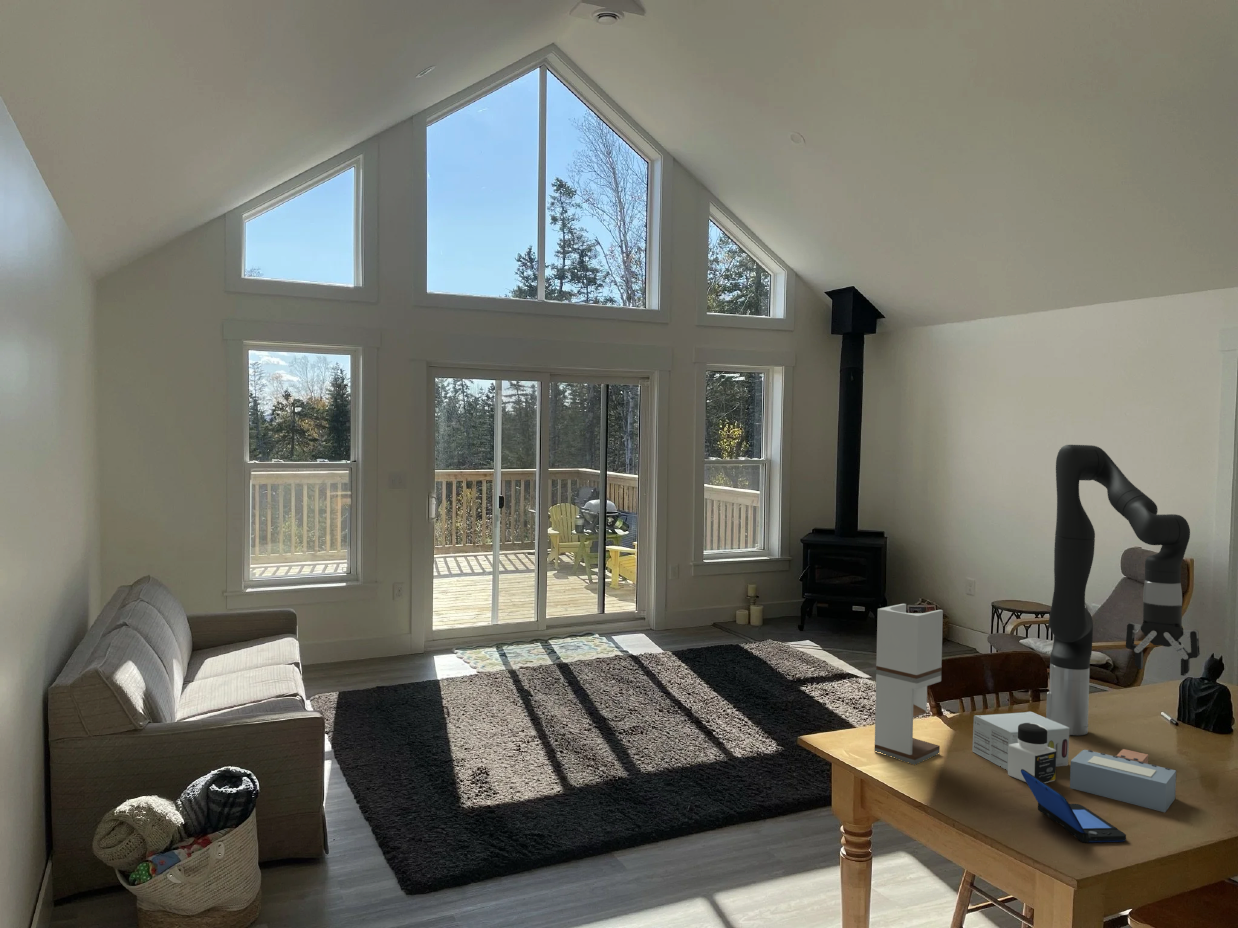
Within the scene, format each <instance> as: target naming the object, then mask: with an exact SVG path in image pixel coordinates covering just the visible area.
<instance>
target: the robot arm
mask: <svg viewBox="0 0 1238 928" xmlns="http://www.w3.org/2000/svg"><path fill="white" fill-rule="evenodd" d="M1055 459H1056V460H1055V481H1056V483H1055V484H1056V521H1055V522H1056V525H1055V533H1054V536H1055V537H1054V547H1053V548H1054V550H1053V551H1054V552H1053V553H1054V560H1053V567H1054V568H1053V572H1054V573H1053V577H1054V581H1053V582H1054V585H1053V593H1052V594H1053V595H1052V602H1051V607H1050V613H1049V618H1048V625H1049V629H1050V632H1051V633H1052V635H1053V643H1052V649H1051V651H1050V657H1049V659H1050V660H1049V664H1050V665H1049V690H1048V692H1047V693H1046V708H1045V709H1046V711H1045V713H1046V714H1045V715H1046V717H1045V718H1047V719H1050V720H1052V721H1055V722H1057V723H1060V724H1062V725H1064V726H1066V727H1069V728H1070V729H1069V736H1084V735H1087V734H1088V731H1089V700H1090V697H1089V695H1090V666H1091V665H1090V664H1091V658H1092V652H1093V649H1092V648H1093V635H1094V622H1093V621H1094V620H1093V617H1092V614H1091V612H1090V610H1088V609H1087V608H1086V589H1087V584H1088V580H1089V577H1090V574H1091V570H1092V565H1093V561H1094V555H1095V546H1096V545H1095V543H1096V539H1095V538H1096V532H1095V529H1094V528H1095V527H1094V525H1093V523H1092V521H1091V519H1090V518H1089V516H1088V514H1087V512H1086V510H1085V508H1084V506H1083V504H1082V502H1081V497H1080V481H1094V482H1096V483H1099V484H1100V485H1102V486H1103V487H1105V488H1106V490H1107V491H1106V492H1107V493H1106V494H1107V499H1108V501H1109V504H1110V505H1111V507H1112V508H1113V509H1115V511H1116V512H1118V513H1119V514H1120V515H1121V516H1122V517H1123V518H1124V519H1125V520H1127V522H1129V525H1130V527H1131V528H1132V530H1133V533H1134V534H1135V536H1136V538H1138V539H1139V540H1140V541H1141V542H1143V543H1145V544H1146V545H1149V546H1161V547H1160V550H1159V551H1158V552H1157V553H1155V554H1153V555H1149V556H1147V557H1146V559H1145V562H1144V585H1143V591H1142V592H1143V593H1142V594H1143V595H1142V598H1143V600H1142V601H1143V603H1142V606H1143V607H1142V608H1143V609H1142V610H1143V611H1142V618H1143V619H1142V623H1141V624H1137V623H1135V622H1133V621H1131V622H1129V623H1128V624H1127V625H1126V638H1125V648H1127V649H1128V650H1131V651H1132V652H1133V653H1134V665H1135V666H1136V667H1137V669H1138V670H1142V669H1144V652H1143V650H1144V649H1145V648H1146V647H1147V646H1148V645H1149V644H1152V645H1153V646H1163V647H1166V648H1167V647H1168V648H1170V647H1173V649H1174V650H1175V651H1176V652H1177V653H1178V654H1179V655H1180V657H1181V659H1180V676H1183V677H1184V676H1186V675H1188V674H1189V672H1190V664H1191V663H1190V661H1191V659H1197V658H1198V657H1199V656H1200V654H1201V653H1200V650H1201V649H1200V637H1199V631H1198V629H1193V630H1191V629H1189V630H1188V629H1184V628H1183V625H1182V624H1183V622H1182V621H1183V620H1182V619H1183V618H1182V615H1183V591H1182V584H1181V583H1182V579H1181V578H1182V563H1183V560H1184V557H1185V554H1186V551H1187V547H1188V544H1189V541H1190V537H1191V528H1190V525H1189V522H1188V521H1187V519H1186V518H1185V517H1184V516H1182V515H1180V514H1174V513H1173V514H1172V513H1171V514H1168V513H1167V514H1158V505H1157V504H1156V503H1155V501H1154V500H1153V499H1151V497H1149V496H1148V495H1146V494H1145V493H1144V492H1143V491H1142V490H1141V489H1139V488H1138V487H1137V486H1136V485H1134V484H1133V483H1132V482H1131V481H1130V480H1129V478H1127V476H1126V475H1125V474H1124V473H1123V472H1122V470H1121V469H1120V468H1119V467H1118V466H1117V464H1116V463H1115V462H1114V461H1113V459H1112V458H1111V457H1110V455H1108V453H1106V451H1105V450H1104V449H1102V448H1101V447H1099V446H1097V445H1090V444H1065V445H1063V446H1062V447H1060V449H1059V450H1058V453H1057V456H1056V458H1055ZM1139 630H1140V631H1141V632H1142V634H1143V635H1144V636H1145V637H1144V639H1143V640H1141V641H1140V643H1139V644H1136V643H1135V638H1136V637H1135V635H1136V634H1137V633H1138V632H1139ZM1183 636H1186V639H1187V640H1188V641H1190V651H1188V650H1187V649H1186V647H1185V645H1184V643H1182V641H1181V640H1180V639H1181V638H1182V637H1183Z"/></svg>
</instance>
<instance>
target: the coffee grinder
mask: <svg viewBox="0 0 1238 928" xmlns="http://www.w3.org/2000/svg"><path fill="white" fill-rule="evenodd" d="M943 615H944V610H943V609H937V610H932V611H927V612H923V613H922V612H918V613H916V612H915V613H914V612H913V613H911V612H907V603H900V604H894V605H889V606H885V607H881V608H877V618H876V620H877V624H876V625H877V627H876V630H877V631H876V663H875V665H876V668H875V669H876V670H875V711H874V712H875V716H874V717H875V718H874V752H875V751H877V752H881V753H883V754H886V755H888V756H892V757H895V758H897V759H900V760H902V761H901V762H903V761H905V762H904V763H906V762H909V763H911V764H910V765H912V764H914V765H913V766H915V764H916V765H918V764H920V763H919V762H921V763H922V761H923V760H925V761H927V760H929V759H928V758H930V757H932V756H934V757H936V756H937V755H936V754H938V753H939V754H940V751H941V750H940V748H941V747H940V745H938V744H936V743H932V742H927V741H925V740H922V739H917V738H914V737H913V736H914V733H913V732H914V718H915V717H921V716H923V715H925V714H927V712H928V711H927V706H928V705H927V704H928V703H927V702H928V686H931V685H934V684H937V683H941V682H942V669H943V668H942V665H943V664H942V663H943V661H942V659H943V624H944V623H943V620H944V616H943ZM935 755H936V756H935ZM932 758H933V757H932ZM897 759H896V760H897ZM926 759H927V760H926ZM930 759H931V758H930ZM900 760H899V761H900ZM923 762H924V761H923ZM909 763H908V764H909ZM917 763H918V764H917Z"/></svg>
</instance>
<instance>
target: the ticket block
mask: <svg viewBox="0 0 1238 928" xmlns="http://www.w3.org/2000/svg"><path fill="white" fill-rule="evenodd" d="M1069 768H1070V770H1069V771H1070V772H1069V774H1070V775H1069V789H1072V790H1076V791H1081V792H1085V793H1088V794H1092V795H1096V796H1100V797H1103V798H1108V799H1112V800H1115V801H1118V802H1123V803H1128V804H1131V805H1136V806H1138V807H1142V808H1146V809H1150V810H1154V811H1157V812H1162V813H1166V812H1167V811H1168V809H1169V808H1170V806H1172V804H1173V802H1174V801H1175V799H1176V792H1177V791H1176V789H1177V787H1176V786H1177V785H1176V783H1177V770H1175V769H1171V768H1169V767H1162V766H1159V765H1156V764H1151V763H1150V764H1149V763H1148V764H1145V763H1143V762H1140V761H1139V762H1137V761H1132V760H1130V759H1127V758H1126V759H1124V758H1119V757H1118V756H1117V755H1110V754H1106V753H1103V752H1097V751H1094V750H1091V749H1082V750H1081V751H1080V752H1078V754H1077V755H1075V756H1074V757H1073V758H1072V759H1070V767H1069Z"/></svg>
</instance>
